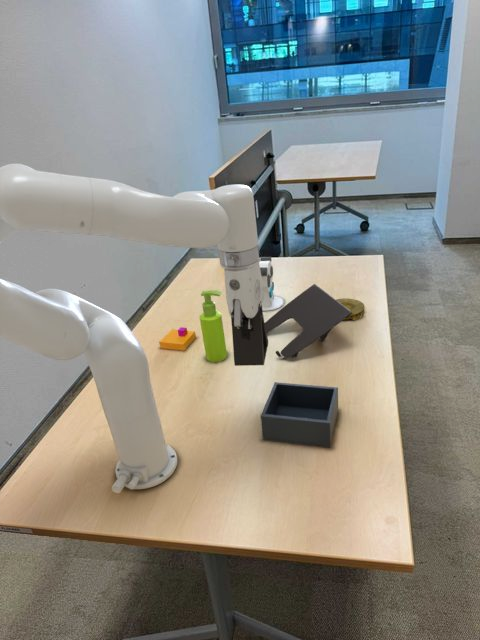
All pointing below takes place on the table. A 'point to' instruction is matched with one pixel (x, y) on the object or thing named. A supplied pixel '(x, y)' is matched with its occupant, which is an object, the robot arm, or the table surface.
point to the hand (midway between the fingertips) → (250, 339)
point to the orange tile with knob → (178, 339)
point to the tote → (300, 414)
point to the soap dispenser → (212, 329)
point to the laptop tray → (309, 318)
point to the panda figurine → (268, 286)
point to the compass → (353, 307)
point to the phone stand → (251, 342)
